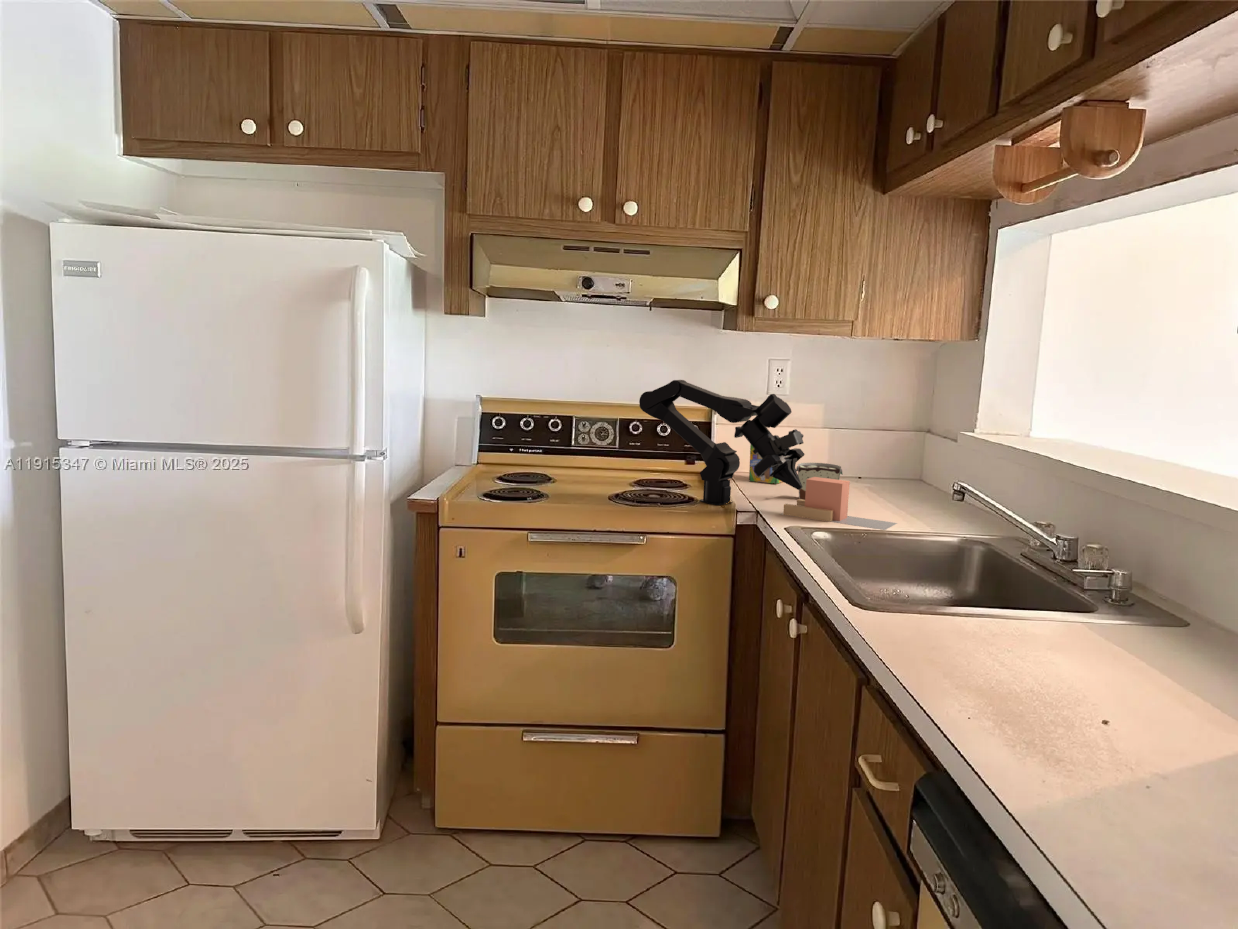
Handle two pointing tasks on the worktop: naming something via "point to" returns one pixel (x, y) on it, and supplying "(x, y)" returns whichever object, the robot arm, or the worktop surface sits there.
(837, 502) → the block
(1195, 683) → the worktop surface
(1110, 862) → the worktop surface
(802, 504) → the chute
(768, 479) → the chalk box
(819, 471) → the food container
